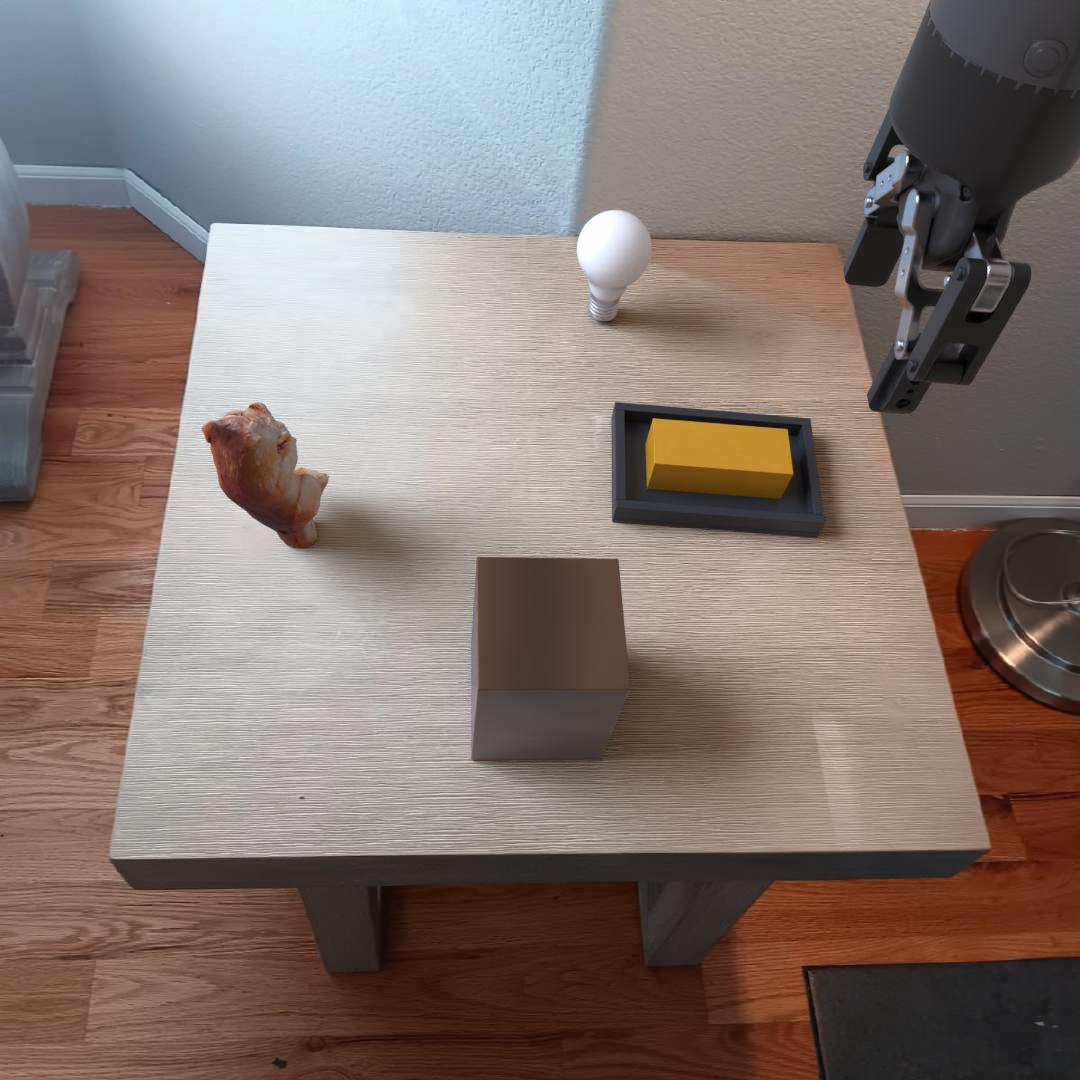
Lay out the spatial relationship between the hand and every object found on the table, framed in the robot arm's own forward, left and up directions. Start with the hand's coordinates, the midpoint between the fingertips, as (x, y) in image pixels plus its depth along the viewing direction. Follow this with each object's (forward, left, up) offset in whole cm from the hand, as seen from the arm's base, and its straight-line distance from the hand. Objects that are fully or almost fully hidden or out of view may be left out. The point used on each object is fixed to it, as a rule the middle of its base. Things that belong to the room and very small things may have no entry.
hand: (874, 340), depth 50 cm
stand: (+4, +15, -31) cm, 35 cm away
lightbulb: (+30, -13, -31) cm, 45 cm away
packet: (+11, -9, -30) cm, 33 cm away
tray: (+11, -9, -31) cm, 34 cm away
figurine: (+26, +22, -31) cm, 46 cm away
